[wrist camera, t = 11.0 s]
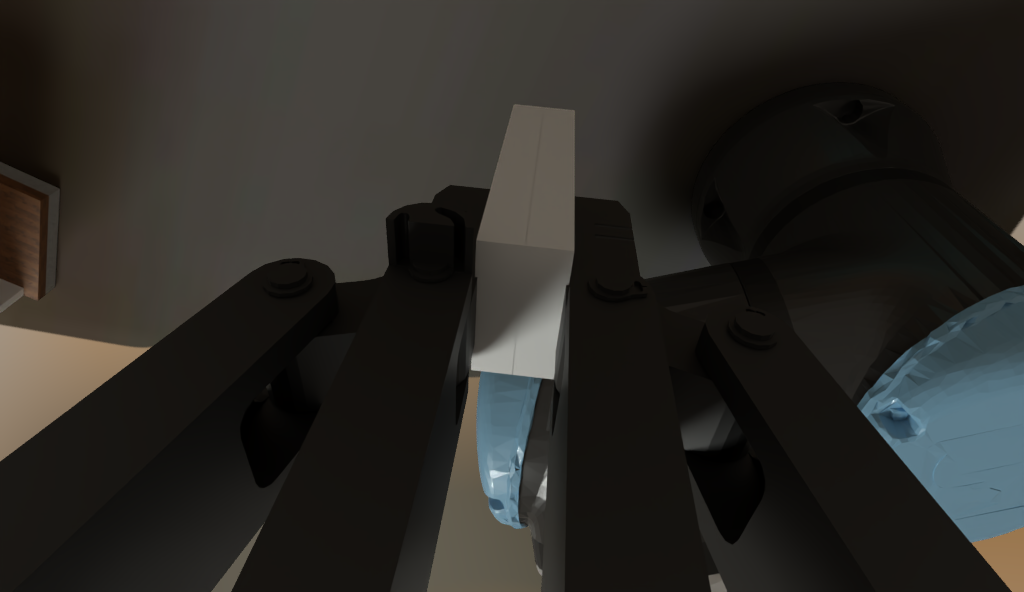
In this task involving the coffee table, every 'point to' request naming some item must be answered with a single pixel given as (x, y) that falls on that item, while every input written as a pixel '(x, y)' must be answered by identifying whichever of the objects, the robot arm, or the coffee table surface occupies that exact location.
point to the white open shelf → (27, 236)
